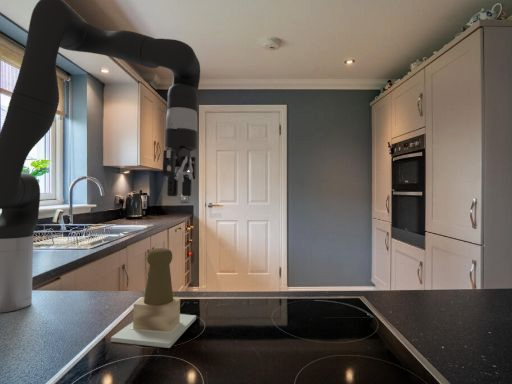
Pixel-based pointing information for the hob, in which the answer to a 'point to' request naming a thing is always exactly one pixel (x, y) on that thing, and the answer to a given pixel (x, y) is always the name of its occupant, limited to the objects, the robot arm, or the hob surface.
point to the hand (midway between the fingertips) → (179, 196)
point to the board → (154, 334)
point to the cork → (159, 277)
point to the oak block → (156, 316)
